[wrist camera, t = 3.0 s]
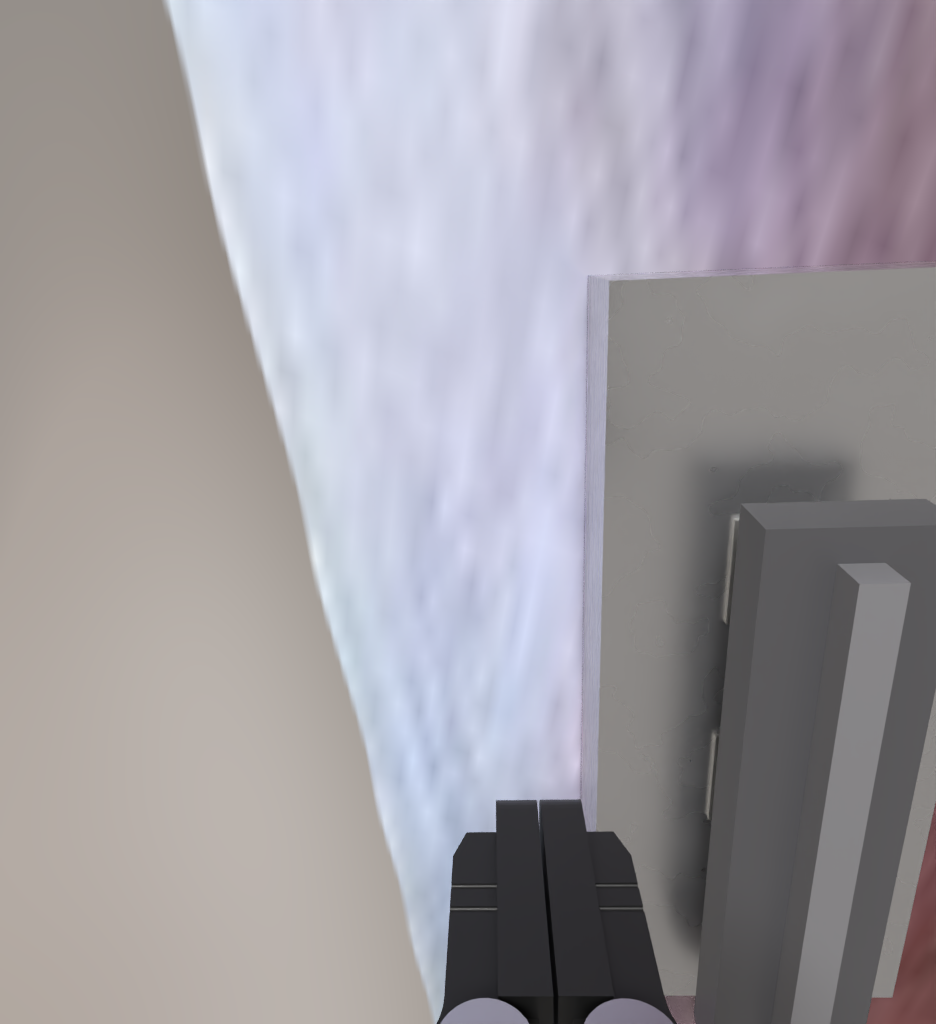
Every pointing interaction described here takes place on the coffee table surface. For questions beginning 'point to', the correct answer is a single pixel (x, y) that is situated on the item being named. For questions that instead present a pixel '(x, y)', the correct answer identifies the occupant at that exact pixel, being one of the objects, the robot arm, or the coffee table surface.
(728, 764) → the bar
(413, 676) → the coffee table surface
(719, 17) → the coffee table surface
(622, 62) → the coffee table surface
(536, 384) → the coffee table surface
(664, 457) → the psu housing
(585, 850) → the robot arm
